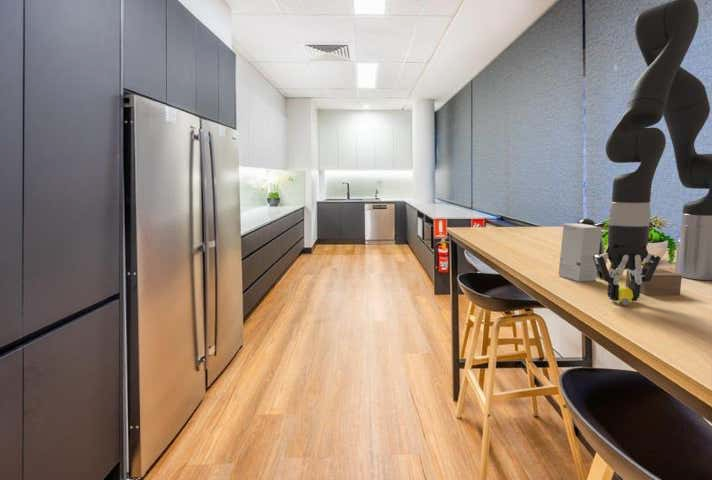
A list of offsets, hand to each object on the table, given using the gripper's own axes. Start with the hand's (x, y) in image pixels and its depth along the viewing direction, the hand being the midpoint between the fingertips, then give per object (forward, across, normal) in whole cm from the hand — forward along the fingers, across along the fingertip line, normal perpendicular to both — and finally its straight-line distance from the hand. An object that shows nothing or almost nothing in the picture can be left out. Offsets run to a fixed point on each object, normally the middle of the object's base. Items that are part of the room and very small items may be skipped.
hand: (622, 299), depth 97 cm
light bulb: (+1, 0, +1) cm, 2 cm away
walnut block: (+1, -12, -10) cm, 16 cm away
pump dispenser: (+1, -9, -36) cm, 37 cm away
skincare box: (+1, -1, -23) cm, 23 cm away
